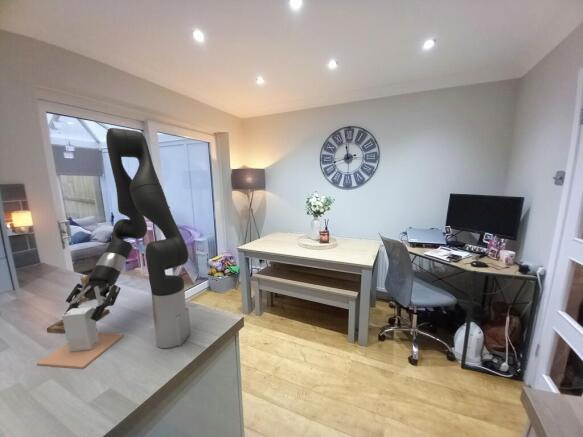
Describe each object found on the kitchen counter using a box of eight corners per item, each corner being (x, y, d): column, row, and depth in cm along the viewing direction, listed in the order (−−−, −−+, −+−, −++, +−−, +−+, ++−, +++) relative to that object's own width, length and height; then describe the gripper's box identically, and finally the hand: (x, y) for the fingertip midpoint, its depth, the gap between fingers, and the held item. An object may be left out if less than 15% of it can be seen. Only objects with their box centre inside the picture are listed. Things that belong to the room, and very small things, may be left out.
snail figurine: (76, 303, 99) (73, 276, 97) (85, 296, 105) (82, 270, 103) (92, 301, 101) (88, 275, 99) (99, 294, 107) (96, 269, 105)
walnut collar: (109, 312, 92) (109, 309, 92) (76, 334, 79) (76, 329, 79) (83, 311, 93) (83, 308, 93) (47, 332, 80) (46, 328, 80)
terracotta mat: (123, 336, 78) (123, 334, 78) (83, 368, 64) (83, 366, 64) (85, 333, 79) (84, 331, 79) (37, 365, 66) (37, 363, 66)
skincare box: (100, 341, 75) (95, 305, 73) (90, 350, 70) (85, 313, 69) (78, 343, 74) (72, 307, 72) (67, 353, 69) (61, 315, 68)
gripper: (80, 263, 78) (47, 314, 68) (121, 264, 76) (93, 317, 67) (97, 272, 84) (69, 321, 74) (134, 274, 83) (111, 323, 73)
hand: (80, 319), depth 71 cm, fingers open, 8 cm apart
